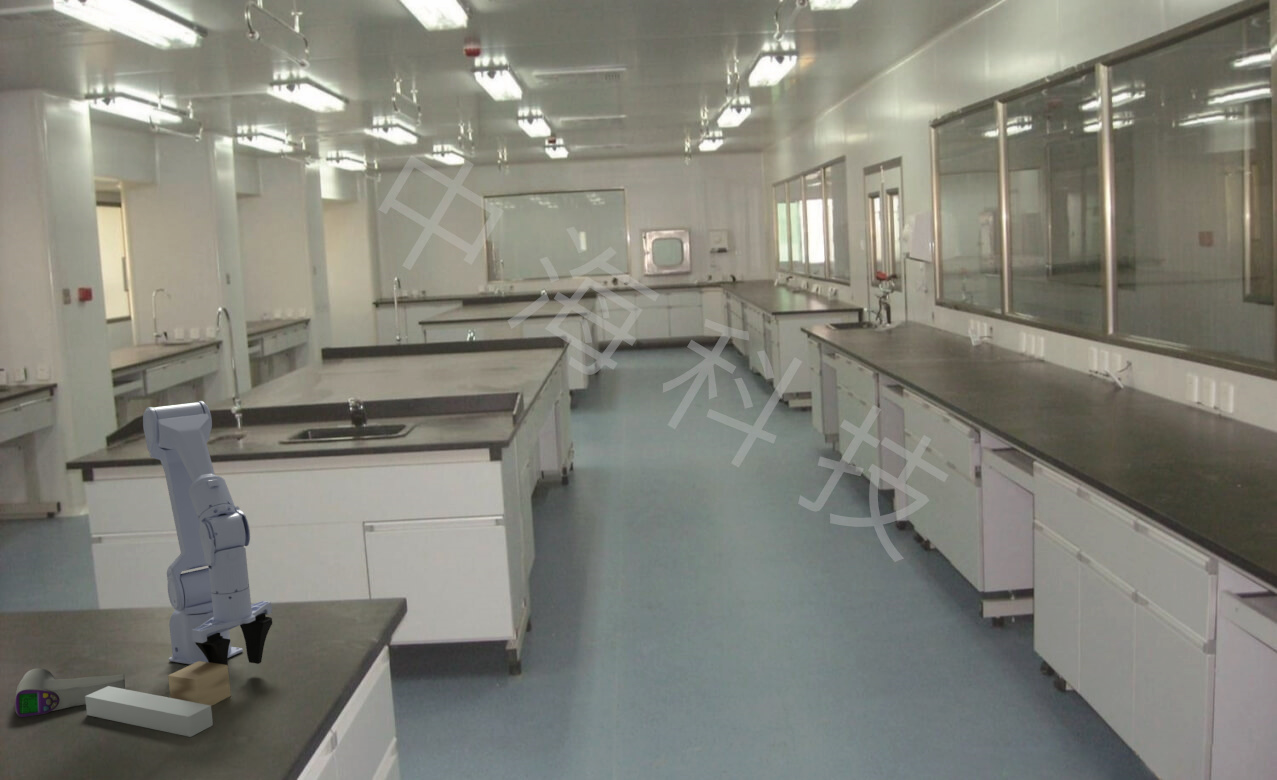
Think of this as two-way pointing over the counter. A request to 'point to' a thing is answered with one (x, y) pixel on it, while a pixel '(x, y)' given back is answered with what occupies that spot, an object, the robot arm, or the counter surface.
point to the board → (149, 711)
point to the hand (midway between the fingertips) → (238, 670)
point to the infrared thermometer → (57, 691)
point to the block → (201, 683)
